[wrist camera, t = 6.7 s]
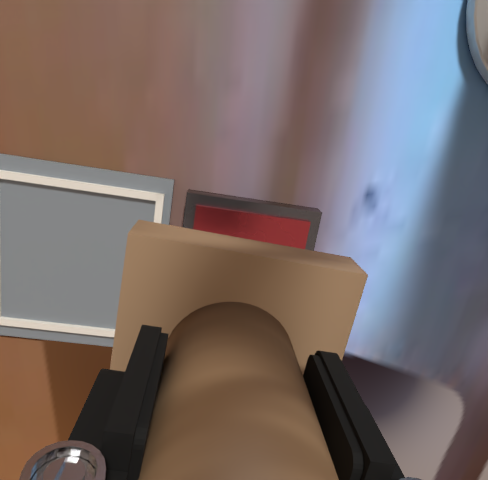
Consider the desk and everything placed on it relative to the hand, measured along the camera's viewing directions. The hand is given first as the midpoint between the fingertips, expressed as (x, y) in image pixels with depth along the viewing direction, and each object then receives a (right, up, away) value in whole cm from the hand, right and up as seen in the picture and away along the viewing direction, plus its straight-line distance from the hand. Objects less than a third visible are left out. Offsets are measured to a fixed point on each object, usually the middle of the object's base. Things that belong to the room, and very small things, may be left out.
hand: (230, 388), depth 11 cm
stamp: (0, +1, +4) cm, 4 cm away
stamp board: (-11, +3, +17) cm, 20 cm away
